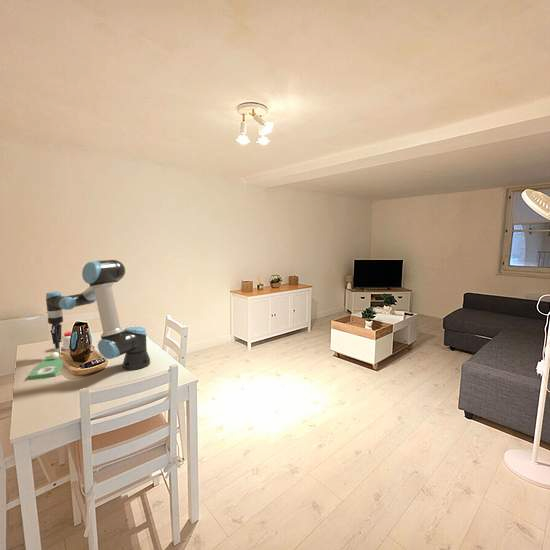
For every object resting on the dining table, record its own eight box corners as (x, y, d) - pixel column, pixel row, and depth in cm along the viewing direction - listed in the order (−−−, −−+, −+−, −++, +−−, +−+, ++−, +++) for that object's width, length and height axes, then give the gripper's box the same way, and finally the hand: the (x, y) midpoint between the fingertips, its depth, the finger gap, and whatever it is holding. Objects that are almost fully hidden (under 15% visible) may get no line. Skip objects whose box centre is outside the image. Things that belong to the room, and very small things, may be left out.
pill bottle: (78, 348, 207) (77, 332, 206) (64, 351, 202) (63, 335, 200) (75, 345, 213) (73, 330, 211) (61, 348, 207) (60, 332, 206)
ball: (60, 357, 187) (59, 350, 186) (58, 359, 183) (57, 353, 182) (51, 358, 185) (51, 351, 185) (49, 360, 181) (48, 353, 181)
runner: (69, 357, 192) (69, 354, 192) (55, 376, 166) (54, 372, 166) (46, 359, 188) (46, 356, 188) (28, 379, 162) (28, 376, 162)
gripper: (51, 314, 192) (54, 349, 195) (44, 319, 180) (47, 357, 183) (65, 313, 194) (68, 348, 197) (59, 318, 182) (62, 355, 185)
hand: (58, 352), depth 190 cm, fingers closed
